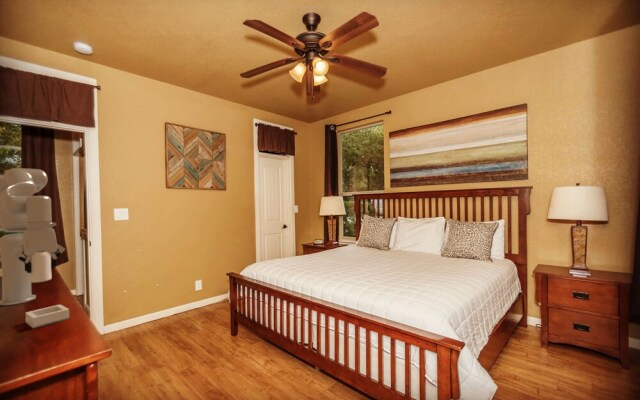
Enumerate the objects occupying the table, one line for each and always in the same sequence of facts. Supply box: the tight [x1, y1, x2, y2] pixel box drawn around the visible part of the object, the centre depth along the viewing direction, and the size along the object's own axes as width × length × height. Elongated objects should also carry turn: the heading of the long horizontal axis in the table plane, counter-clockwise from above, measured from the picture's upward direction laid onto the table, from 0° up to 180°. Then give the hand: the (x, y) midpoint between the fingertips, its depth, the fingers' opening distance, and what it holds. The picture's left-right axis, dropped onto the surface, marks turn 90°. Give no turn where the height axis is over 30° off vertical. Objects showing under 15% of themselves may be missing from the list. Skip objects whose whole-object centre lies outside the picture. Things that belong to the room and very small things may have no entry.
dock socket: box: [25, 304, 70, 329], centre depth 116 cm, size 10×10×4 cm
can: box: [30, 251, 53, 284], centre depth 122 cm, size 6×6×12 cm
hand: (40, 270), depth 122 cm, fingers closed on can, 6 cm apart
